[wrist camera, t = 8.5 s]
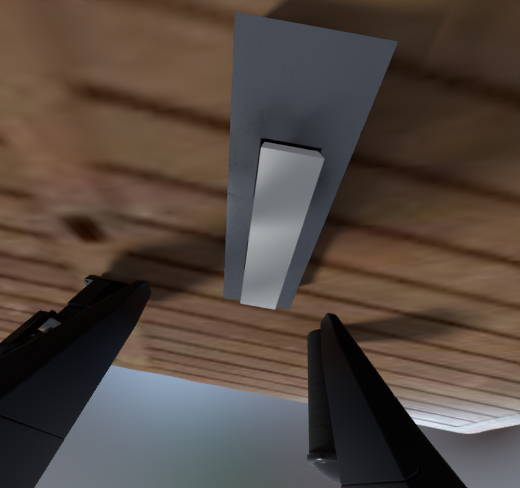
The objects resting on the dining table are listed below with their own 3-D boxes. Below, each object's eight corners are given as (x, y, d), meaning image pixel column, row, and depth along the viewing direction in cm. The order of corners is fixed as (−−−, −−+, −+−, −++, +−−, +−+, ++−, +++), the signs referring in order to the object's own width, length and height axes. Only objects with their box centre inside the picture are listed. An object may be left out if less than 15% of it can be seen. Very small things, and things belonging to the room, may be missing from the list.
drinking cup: (299, 323, 28) (320, 601, 12) (351, 325, 27) (449, 632, 11) (297, 347, 33) (312, 575, 17) (342, 349, 32) (405, 596, 16)
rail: (288, 289, 24) (289, 308, 22) (229, 278, 24) (223, 297, 22) (373, 57, 11) (398, 41, 9) (245, 34, 11) (235, 12, 9)
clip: (277, 257, 21) (274, 309, 16) (251, 252, 21) (240, 303, 16) (307, 140, 14) (324, 158, 8) (269, 133, 14) (261, 147, 8)
